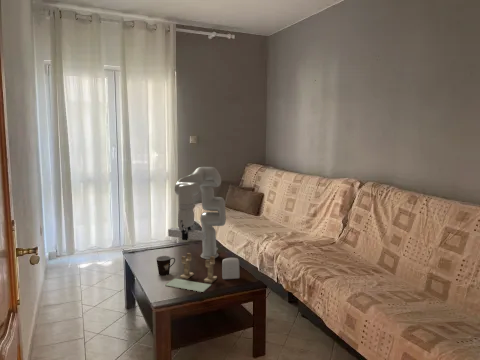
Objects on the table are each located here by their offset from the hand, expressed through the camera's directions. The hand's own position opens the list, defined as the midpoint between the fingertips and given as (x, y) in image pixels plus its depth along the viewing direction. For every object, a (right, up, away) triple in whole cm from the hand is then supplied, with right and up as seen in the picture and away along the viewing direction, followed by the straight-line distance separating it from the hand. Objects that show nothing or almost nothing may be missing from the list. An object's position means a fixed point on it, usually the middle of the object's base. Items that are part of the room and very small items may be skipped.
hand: (187, 238), depth 199 cm
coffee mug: (-16, -25, +22) cm, 37 cm away
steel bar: (0, +1, 0) cm, 1 cm away
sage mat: (0, -27, +3) cm, 27 cm away
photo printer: (+24, -26, +14) cm, 38 cm away
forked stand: (+5, -26, +14) cm, 30 cm away
